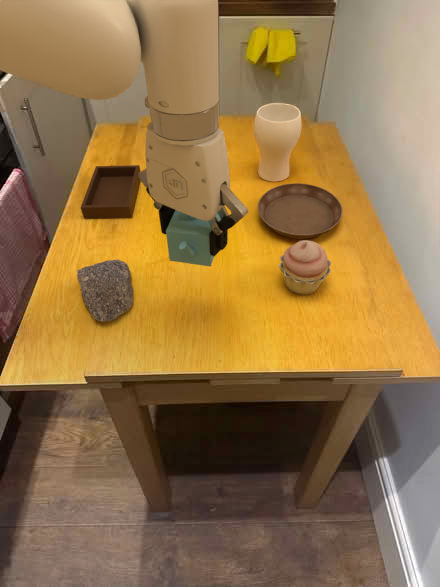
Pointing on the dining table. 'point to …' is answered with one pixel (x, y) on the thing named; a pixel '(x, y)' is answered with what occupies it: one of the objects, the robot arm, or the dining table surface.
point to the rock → (106, 289)
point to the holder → (111, 192)
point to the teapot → (189, 239)
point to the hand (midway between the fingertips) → (193, 238)
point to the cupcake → (304, 267)
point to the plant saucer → (300, 210)
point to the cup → (276, 138)
